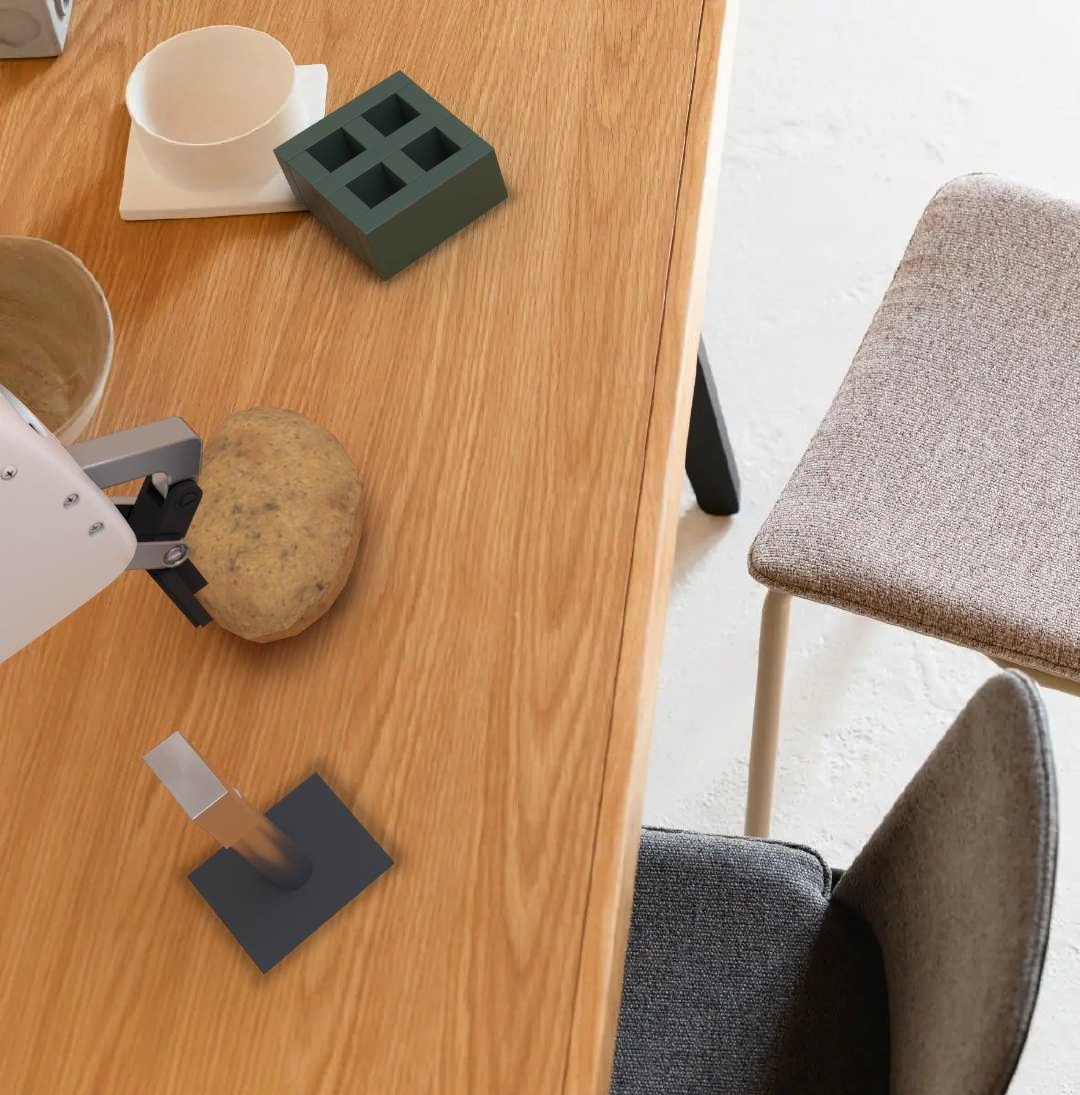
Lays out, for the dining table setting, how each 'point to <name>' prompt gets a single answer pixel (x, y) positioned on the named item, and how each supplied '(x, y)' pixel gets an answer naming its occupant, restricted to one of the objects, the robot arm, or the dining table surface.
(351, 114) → the rack
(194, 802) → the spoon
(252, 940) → the mat
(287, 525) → the potato
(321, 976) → the dining table surface
